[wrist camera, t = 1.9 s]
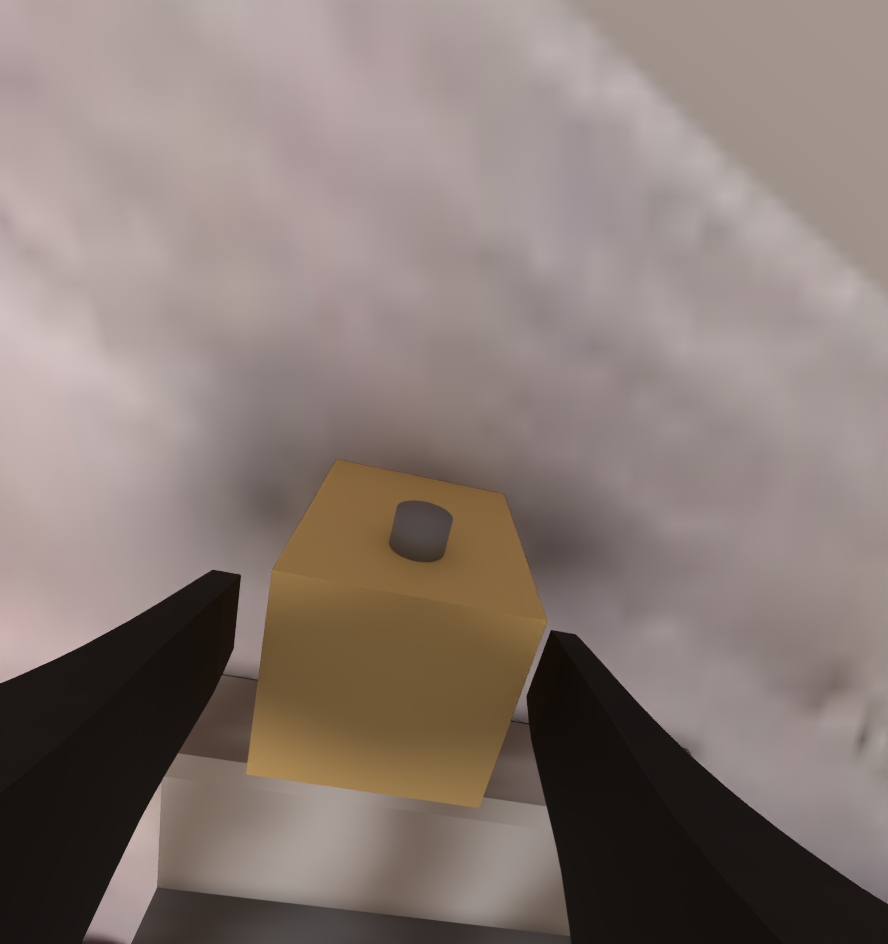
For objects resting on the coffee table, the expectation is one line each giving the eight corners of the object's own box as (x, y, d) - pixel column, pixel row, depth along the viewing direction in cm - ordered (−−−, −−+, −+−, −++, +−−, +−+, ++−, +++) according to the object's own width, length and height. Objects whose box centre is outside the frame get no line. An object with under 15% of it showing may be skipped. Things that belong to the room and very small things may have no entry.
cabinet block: (511, 468, 14) (560, 584, 9) (463, 629, 16) (479, 808, 11) (341, 432, 14) (277, 529, 8) (313, 601, 16) (246, 774, 10)
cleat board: (688, 750, 18) (801, 954, 13) (599, 913, 22) (657, 1132, 16) (195, 670, 16) (72, 867, 11) (181, 861, 20) (82, 1087, 14)
